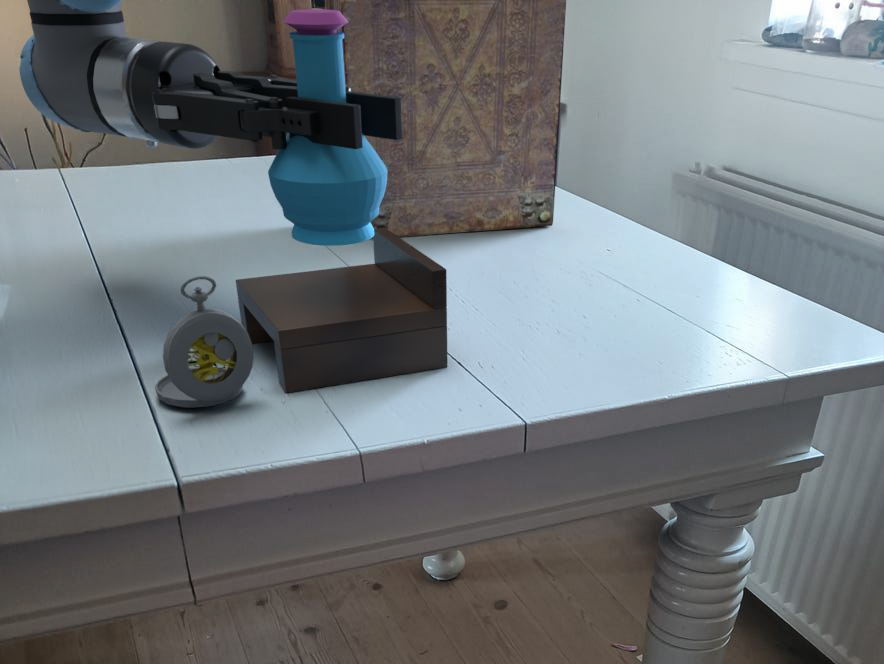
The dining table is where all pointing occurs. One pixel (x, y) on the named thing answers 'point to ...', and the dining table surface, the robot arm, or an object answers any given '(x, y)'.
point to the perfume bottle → (325, 148)
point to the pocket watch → (204, 356)
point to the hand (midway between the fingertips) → (378, 123)
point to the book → (461, 108)
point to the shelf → (351, 317)
